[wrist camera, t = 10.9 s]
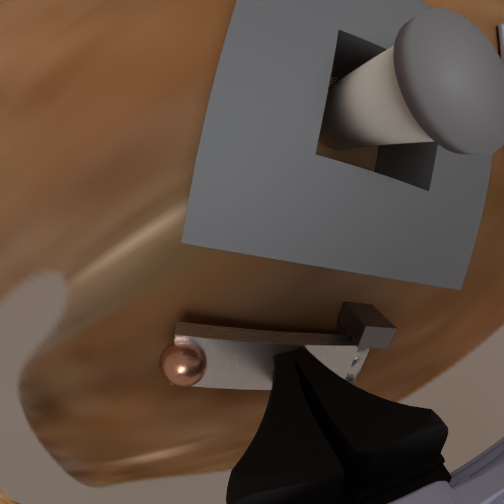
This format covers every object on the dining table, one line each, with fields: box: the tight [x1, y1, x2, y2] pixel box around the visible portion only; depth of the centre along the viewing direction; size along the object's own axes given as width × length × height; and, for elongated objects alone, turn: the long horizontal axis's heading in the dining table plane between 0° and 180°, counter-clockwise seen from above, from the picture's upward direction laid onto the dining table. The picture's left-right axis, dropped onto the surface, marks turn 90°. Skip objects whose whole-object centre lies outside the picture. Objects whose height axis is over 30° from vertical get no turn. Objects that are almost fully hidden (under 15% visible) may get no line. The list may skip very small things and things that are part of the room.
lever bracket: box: [338, 302, 397, 349], centre depth 13 cm, size 2×5×2 cm, turn 168°
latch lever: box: [159, 321, 370, 390], centre depth 12 cm, size 9×2×2 cm, turn 78°
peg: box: [319, 8, 504, 155], centre depth 8 cm, size 3×3×8 cm
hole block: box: [181, 0, 493, 290], centre depth 9 cm, size 10×10×4 cm
